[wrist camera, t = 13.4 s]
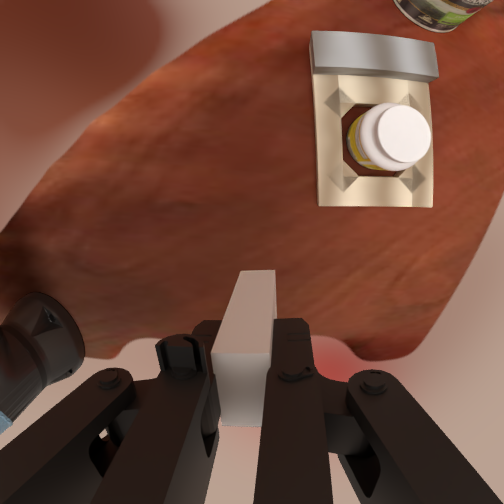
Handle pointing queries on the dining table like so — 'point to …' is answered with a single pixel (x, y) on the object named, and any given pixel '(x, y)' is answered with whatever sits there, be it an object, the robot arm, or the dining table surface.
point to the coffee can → (439, 12)
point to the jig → (368, 95)
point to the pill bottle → (389, 137)
